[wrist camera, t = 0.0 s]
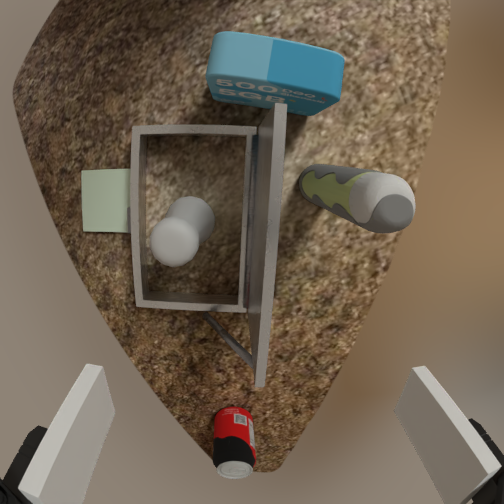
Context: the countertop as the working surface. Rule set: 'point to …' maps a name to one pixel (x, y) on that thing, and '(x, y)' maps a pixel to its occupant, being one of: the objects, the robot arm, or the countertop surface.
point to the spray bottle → (360, 196)
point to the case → (252, 231)
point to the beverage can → (234, 443)
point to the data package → (273, 73)
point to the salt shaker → (182, 231)
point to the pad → (105, 199)
